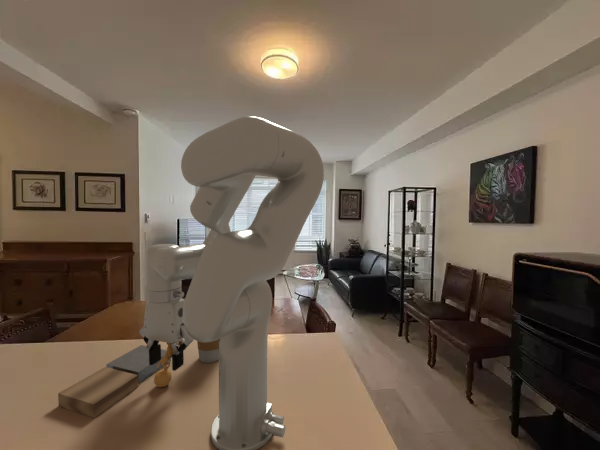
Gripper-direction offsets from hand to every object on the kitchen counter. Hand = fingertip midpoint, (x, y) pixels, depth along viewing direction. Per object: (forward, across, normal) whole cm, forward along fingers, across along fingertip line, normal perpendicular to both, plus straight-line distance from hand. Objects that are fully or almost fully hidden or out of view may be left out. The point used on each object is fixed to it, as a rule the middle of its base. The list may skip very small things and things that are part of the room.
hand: (166, 364), depth 70 cm
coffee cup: (+6, -2, -15) cm, 16 cm away
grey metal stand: (+6, +13, -4) cm, 15 cm away
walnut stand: (+6, +12, +8) cm, 15 cm away
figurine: (+6, 0, 0) cm, 6 cm away
